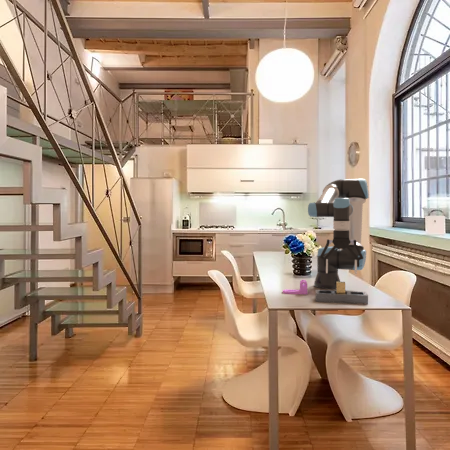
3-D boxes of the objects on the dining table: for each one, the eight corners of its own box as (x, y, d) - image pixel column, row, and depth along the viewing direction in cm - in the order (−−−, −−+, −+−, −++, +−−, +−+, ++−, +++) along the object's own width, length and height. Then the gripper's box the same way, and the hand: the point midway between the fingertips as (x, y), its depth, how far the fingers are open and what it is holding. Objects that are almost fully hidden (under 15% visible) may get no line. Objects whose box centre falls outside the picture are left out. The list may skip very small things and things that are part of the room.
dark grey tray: (315, 297, 200) (315, 289, 200) (365, 299, 195) (365, 291, 195) (315, 301, 191) (315, 293, 191) (368, 304, 186) (368, 295, 186)
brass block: (336, 299, 196) (336, 281, 196) (344, 300, 195) (344, 281, 195) (336, 301, 192) (336, 282, 192) (345, 301, 191) (345, 283, 191)
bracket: (306, 292, 214) (306, 279, 214) (307, 294, 208) (307, 281, 208) (282, 291, 216) (282, 279, 216) (282, 293, 211) (282, 280, 210)
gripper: (315, 230, 191) (315, 273, 192) (369, 230, 186) (369, 275, 187) (315, 229, 198) (314, 271, 199) (367, 229, 193) (367, 272, 194)
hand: (341, 273), depth 193 cm, fingers open, 13 cm apart
